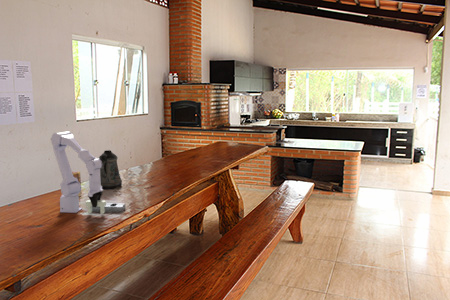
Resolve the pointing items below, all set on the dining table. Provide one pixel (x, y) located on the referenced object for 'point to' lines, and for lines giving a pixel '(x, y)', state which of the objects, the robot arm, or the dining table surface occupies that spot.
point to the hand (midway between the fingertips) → (95, 206)
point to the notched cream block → (99, 204)
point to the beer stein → (109, 171)
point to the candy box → (77, 175)
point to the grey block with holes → (111, 207)
